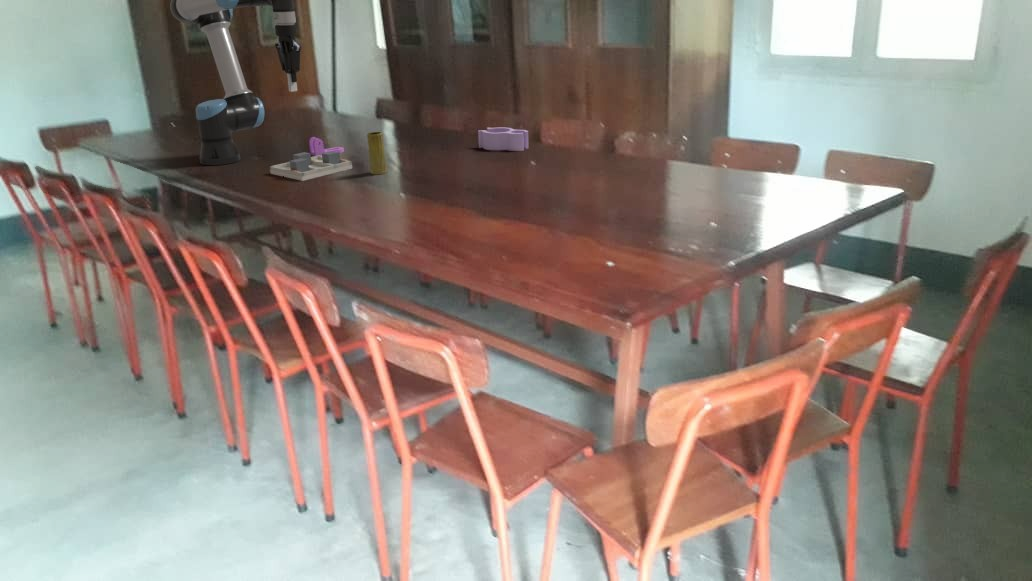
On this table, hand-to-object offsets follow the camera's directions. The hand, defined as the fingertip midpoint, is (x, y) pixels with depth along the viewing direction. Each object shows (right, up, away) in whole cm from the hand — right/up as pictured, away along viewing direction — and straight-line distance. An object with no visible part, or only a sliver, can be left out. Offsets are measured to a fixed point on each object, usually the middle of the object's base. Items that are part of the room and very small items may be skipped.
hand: (293, 91), depth 295 cm
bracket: (+6, -18, +29) cm, 35 cm away
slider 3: (+14, -26, +2) cm, 30 cm away
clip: (+78, -17, +26) cm, 84 cm away
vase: (+33, -31, -7) cm, 46 cm away
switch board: (+7, -30, 0) cm, 30 cm away
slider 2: (+5, -31, -8) cm, 32 cm away
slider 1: (+3, -27, +2) cm, 27 cm away
